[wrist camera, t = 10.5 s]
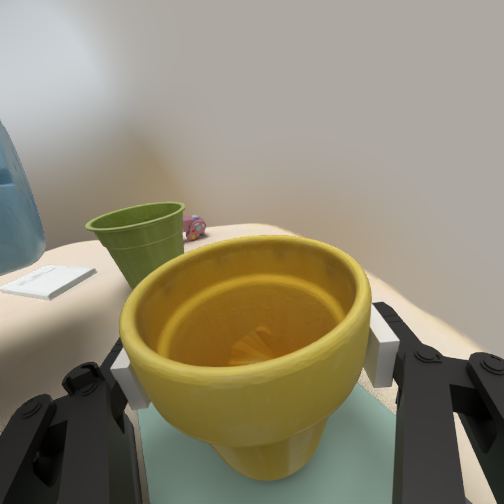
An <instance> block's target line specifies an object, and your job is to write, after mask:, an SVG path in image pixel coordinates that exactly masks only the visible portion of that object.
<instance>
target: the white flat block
mask: <svg viewBox="0 0 504 504" xmlns="http://www.w3.org/2000/svg"><path fill="white" fill-rule="evenodd" d="M95 273H97V271H96V269H95V268H83V267H70V266H57V265H46V266H44V267H42V268H40V269H38V270H35V271H33V272H31V273H29V274H27V275H25V276H23V277H21V278H19V279H16V280H14V281H12V282H10V283H8V284H6V285H4V286H2V287H1V288H0V291H1V292H2V293H7V294H13V295H19V296H25V297H31V298H38V299H44V300H52V299H53V298H55V297H57V296H58V295H60V294H62V293H63V292H65V291H67V290H68V289H70V288H72V287H73V286H75V285H77V284H78V283H80V282H82V281H83V280H85V279H87V278H88V277H90V276H92V275H93V274H95Z"/></svg>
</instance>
